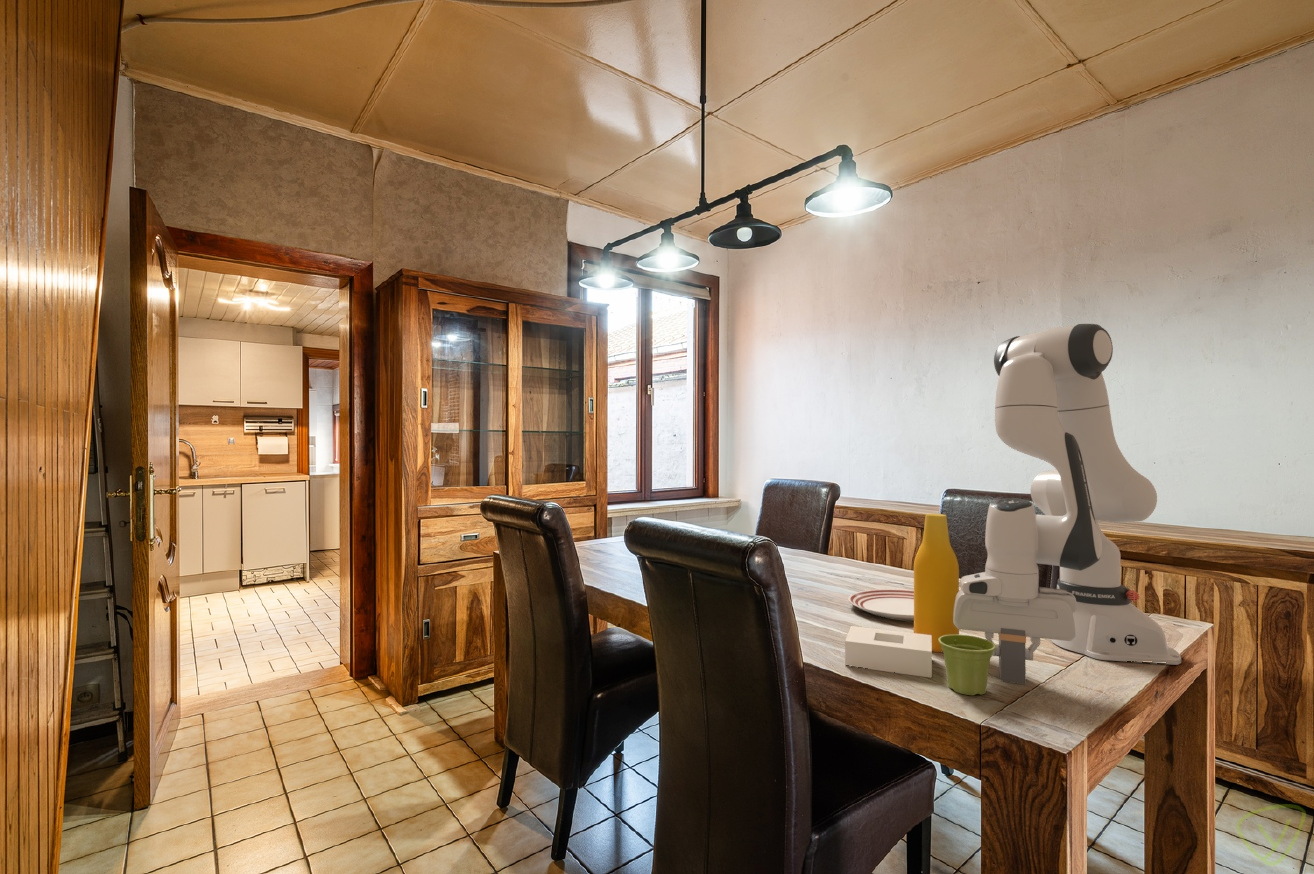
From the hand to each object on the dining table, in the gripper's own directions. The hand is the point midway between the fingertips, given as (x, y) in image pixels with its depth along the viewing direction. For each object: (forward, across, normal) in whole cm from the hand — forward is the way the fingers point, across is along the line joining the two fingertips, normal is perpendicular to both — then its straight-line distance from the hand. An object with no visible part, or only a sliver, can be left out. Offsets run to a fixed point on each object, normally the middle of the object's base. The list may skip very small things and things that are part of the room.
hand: (1011, 657), depth 118 cm
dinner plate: (+5, +21, -42) cm, 47 cm away
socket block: (+4, +22, 0) cm, 22 cm away
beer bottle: (+4, +13, -15) cm, 20 cm away
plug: (+4, 0, 0) cm, 4 cm away
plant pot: (+4, +8, +9) cm, 13 cm away
